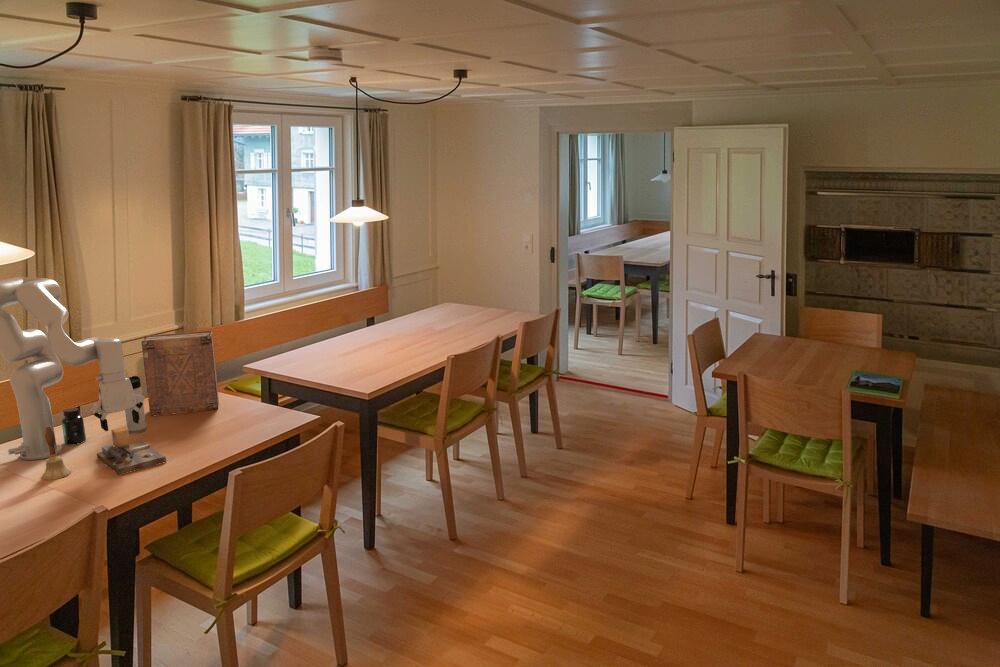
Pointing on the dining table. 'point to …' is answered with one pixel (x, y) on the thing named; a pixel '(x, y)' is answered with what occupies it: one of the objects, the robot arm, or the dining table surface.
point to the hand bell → (54, 460)
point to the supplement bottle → (73, 426)
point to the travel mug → (141, 425)
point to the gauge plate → (123, 463)
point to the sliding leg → (122, 441)
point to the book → (180, 372)
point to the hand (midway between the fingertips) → (121, 426)
